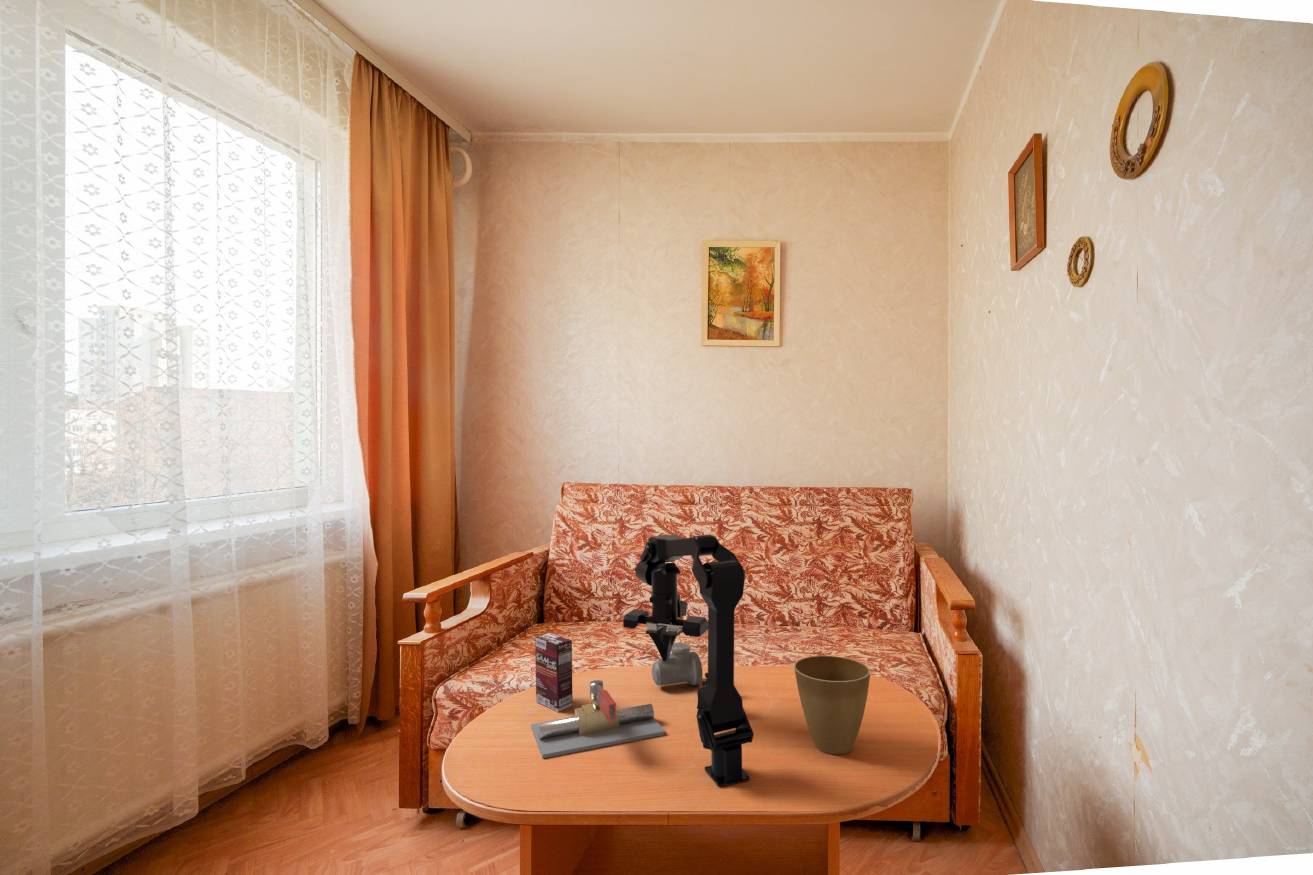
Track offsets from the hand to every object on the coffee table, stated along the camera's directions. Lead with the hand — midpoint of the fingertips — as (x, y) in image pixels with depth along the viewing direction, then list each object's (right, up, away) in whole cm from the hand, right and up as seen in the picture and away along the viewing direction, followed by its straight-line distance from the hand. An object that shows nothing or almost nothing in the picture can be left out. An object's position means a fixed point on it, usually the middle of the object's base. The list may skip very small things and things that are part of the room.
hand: (665, 660), depth 140 cm
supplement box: (-26, -14, +8) cm, 31 cm away
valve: (+13, -13, +6) cm, 19 cm away
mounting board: (-15, -13, -6) cm, 21 cm away
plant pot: (+34, -13, -13) cm, 38 cm away
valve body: (-15, -13, -6) cm, 21 cm away
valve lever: (-13, -6, -10) cm, 18 cm away
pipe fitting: (+3, -13, +18) cm, 23 cm away
